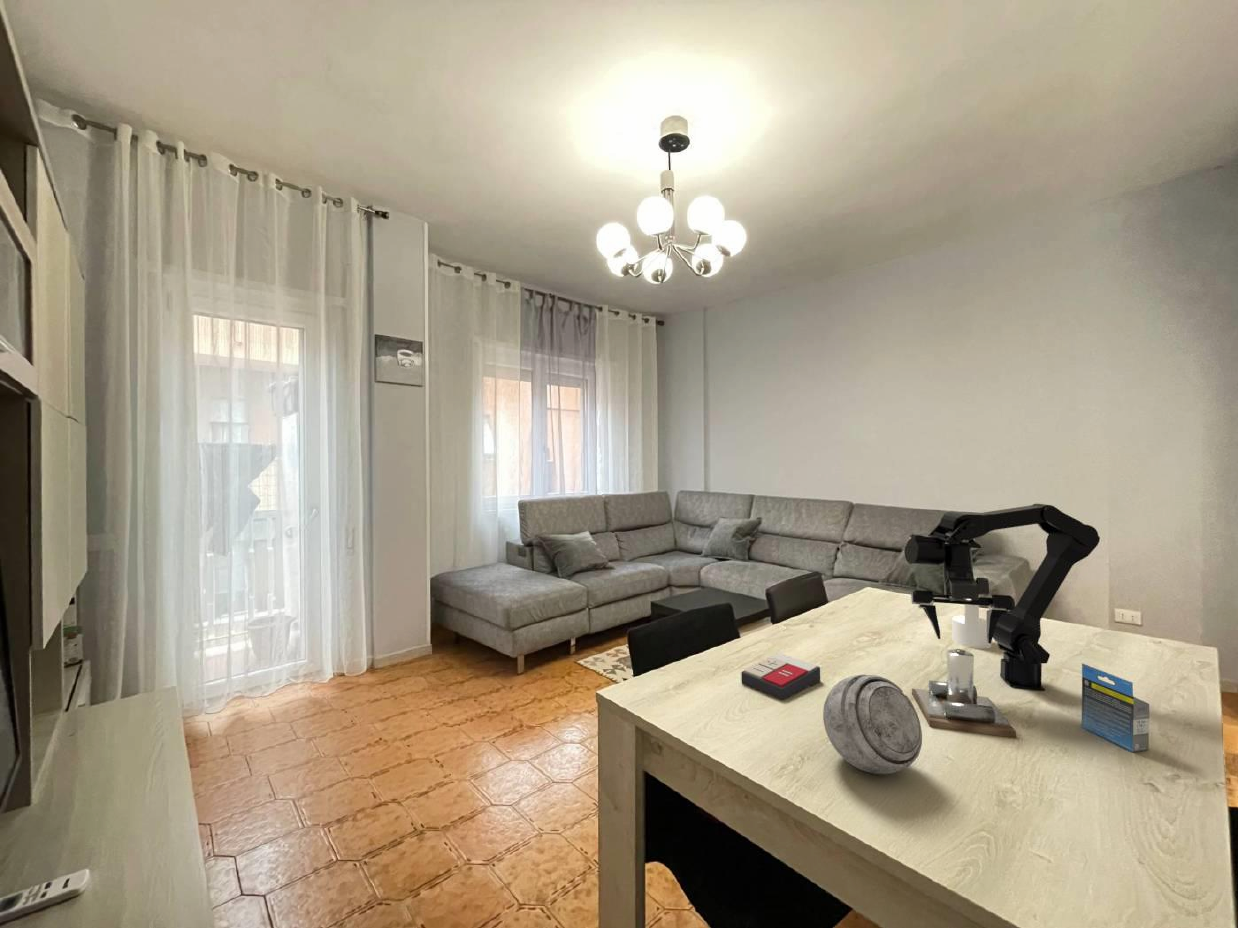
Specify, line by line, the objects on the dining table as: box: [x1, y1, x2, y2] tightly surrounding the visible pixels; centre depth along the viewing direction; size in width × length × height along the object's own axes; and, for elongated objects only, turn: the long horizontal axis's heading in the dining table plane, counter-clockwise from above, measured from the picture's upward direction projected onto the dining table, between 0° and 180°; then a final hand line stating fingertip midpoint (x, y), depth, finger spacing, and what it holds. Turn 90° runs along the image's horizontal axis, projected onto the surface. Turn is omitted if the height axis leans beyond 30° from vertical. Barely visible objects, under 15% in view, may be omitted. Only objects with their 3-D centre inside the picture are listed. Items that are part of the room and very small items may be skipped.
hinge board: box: [911, 688, 1017, 739], centre depth 105 cm, size 14×14×1 cm
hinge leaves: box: [914, 680, 1012, 727], centre depth 105 cm, size 13×12×3 cm
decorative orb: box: [822, 674, 923, 775], centre depth 88 cm, size 15×14×15 cm
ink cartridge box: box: [1081, 663, 1150, 753], centre depth 96 cm, size 9×4×12 cm, turn 9°
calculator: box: [740, 652, 821, 701], centre depth 120 cm, size 11×4×15 cm
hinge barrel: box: [946, 648, 975, 704], centre depth 105 cm, size 4×4×12 cm
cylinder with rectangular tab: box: [951, 599, 993, 650], centre depth 144 cm, size 9×9×12 cm
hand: (963, 641), depth 114 cm, fingers open, 9 cm apart
